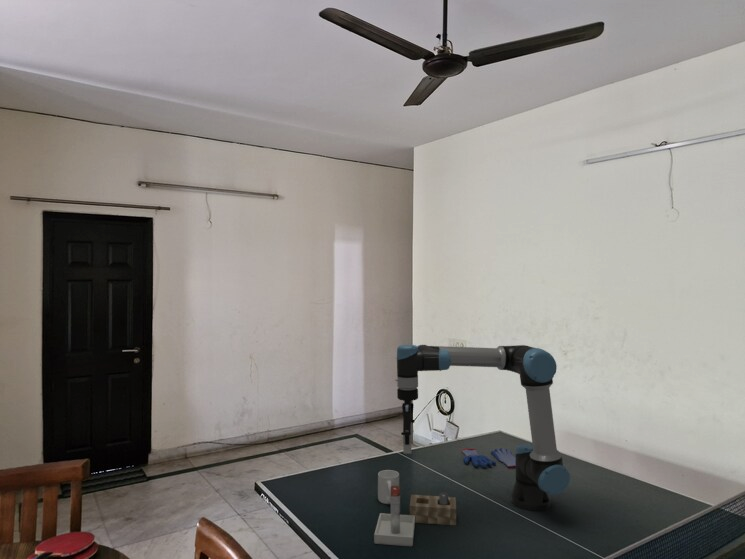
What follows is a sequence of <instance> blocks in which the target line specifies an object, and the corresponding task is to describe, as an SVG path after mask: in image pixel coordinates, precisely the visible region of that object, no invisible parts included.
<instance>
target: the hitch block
mask: <svg viewBox="0 0 745 559" xmlns="http://www.w3.org/2000/svg"><path fill="white" fill-rule="evenodd" d="M409 515H413V516H415V524H417V523H418V524H428V525H429V524H430V525H431V524H432V525H445V526H457V502H456V496H454V497H453V496H448V505H439V495H421V494H410V502H409Z"/></svg>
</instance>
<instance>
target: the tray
mask: <svg viewBox="0 0 745 559" xmlns="http://www.w3.org/2000/svg"><path fill="white" fill-rule="evenodd" d="M376 523H377V524H376V526H375V531H374V534H373V539H374V540H373V544H377V545H390V546H400V547H402V546H403V547H412V546H414V538H415V536H414V535H415V527H416V523H415V516H413V515H410V514H400V533H398V534H393V533H391V513H383V512H382V513H381V512H380V513H379V516H378V519H377V522H376Z"/></svg>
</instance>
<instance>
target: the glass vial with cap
mask: <svg viewBox="0 0 745 559" xmlns="http://www.w3.org/2000/svg"><path fill="white" fill-rule="evenodd" d="M390 514H391V533H393V534H398V533H400V515H401V486H400V485H399V486H391V504H390Z"/></svg>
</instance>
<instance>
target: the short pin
mask: <svg viewBox="0 0 745 559" xmlns="http://www.w3.org/2000/svg"><path fill="white" fill-rule="evenodd" d="M438 496H439V505H448V497H449V493H447V492H439V495H438Z"/></svg>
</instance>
